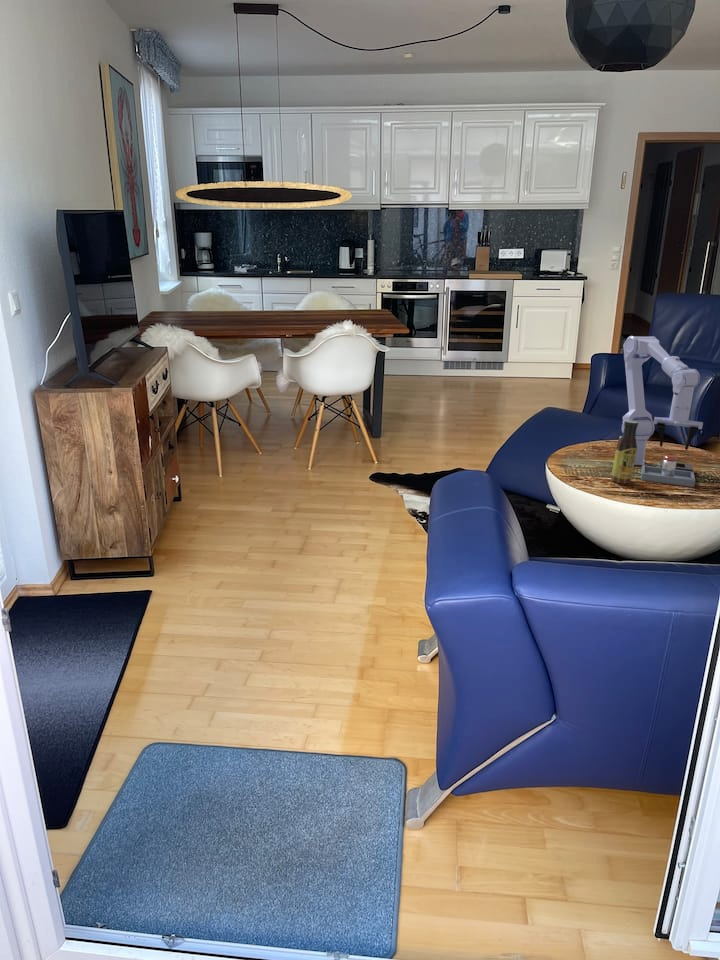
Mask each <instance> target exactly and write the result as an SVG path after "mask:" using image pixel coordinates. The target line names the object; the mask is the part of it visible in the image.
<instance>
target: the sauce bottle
mask: <svg viewBox="0 0 720 960" xmlns="http://www.w3.org/2000/svg"><path fill="white" fill-rule="evenodd" d="M637 427H638V422H636V421H628V420H627V421H625V422H624V431H623V432H622V435H621V436H622V437H621V438H620V437H619V439H618V441H617V444H616V448H615V451H614V453H615V454H614V458H613V459H614V460H613V463H612V464H613V465H612V469H611V478H610V480H611V481H612V482H614V483H616V484H622V485H623V484H624V485H626V484H627V485H628V484H630V483H631V482H632V478H633V473H634V468H635V465H634V463H635V458H636V452H637V444H636V437H635V436H636V429H637Z"/></svg>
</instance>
